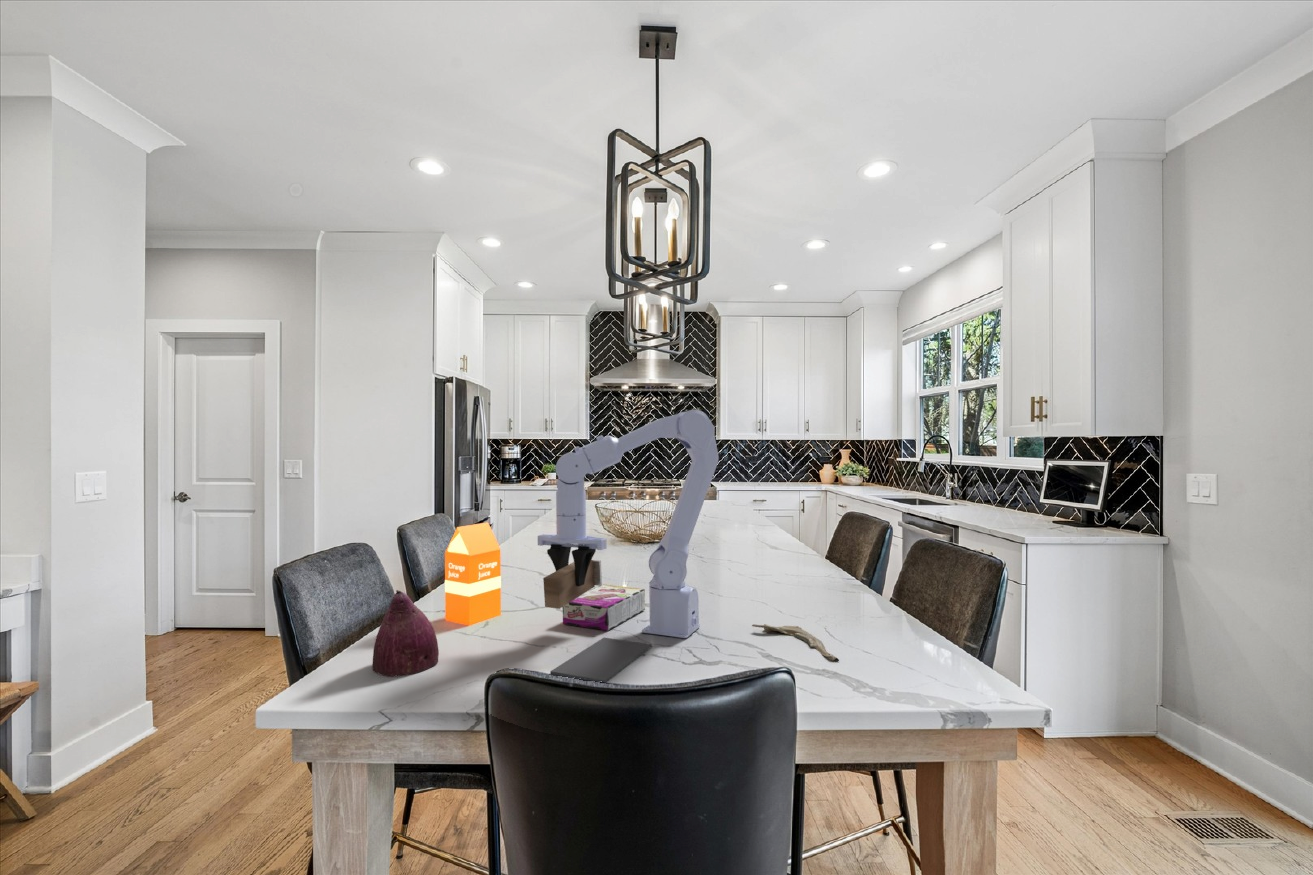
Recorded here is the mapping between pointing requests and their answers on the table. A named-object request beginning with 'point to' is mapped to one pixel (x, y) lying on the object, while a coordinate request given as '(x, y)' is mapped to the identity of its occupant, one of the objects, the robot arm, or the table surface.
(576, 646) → the table surface
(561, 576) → the tall tan post
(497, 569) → the orange juice
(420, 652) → the vegetable
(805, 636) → the jawbone
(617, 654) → the mat
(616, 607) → the candy bar box
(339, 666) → the table surface
